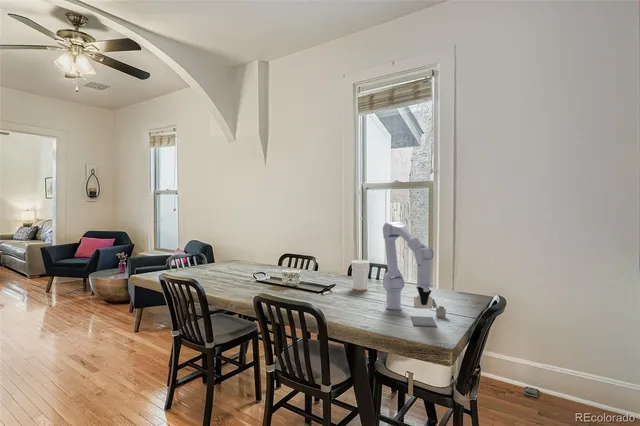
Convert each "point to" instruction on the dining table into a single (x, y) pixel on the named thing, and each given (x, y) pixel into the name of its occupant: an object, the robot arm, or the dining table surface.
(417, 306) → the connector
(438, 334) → the dining table surface
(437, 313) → the lighter
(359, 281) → the cup
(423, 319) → the mat
